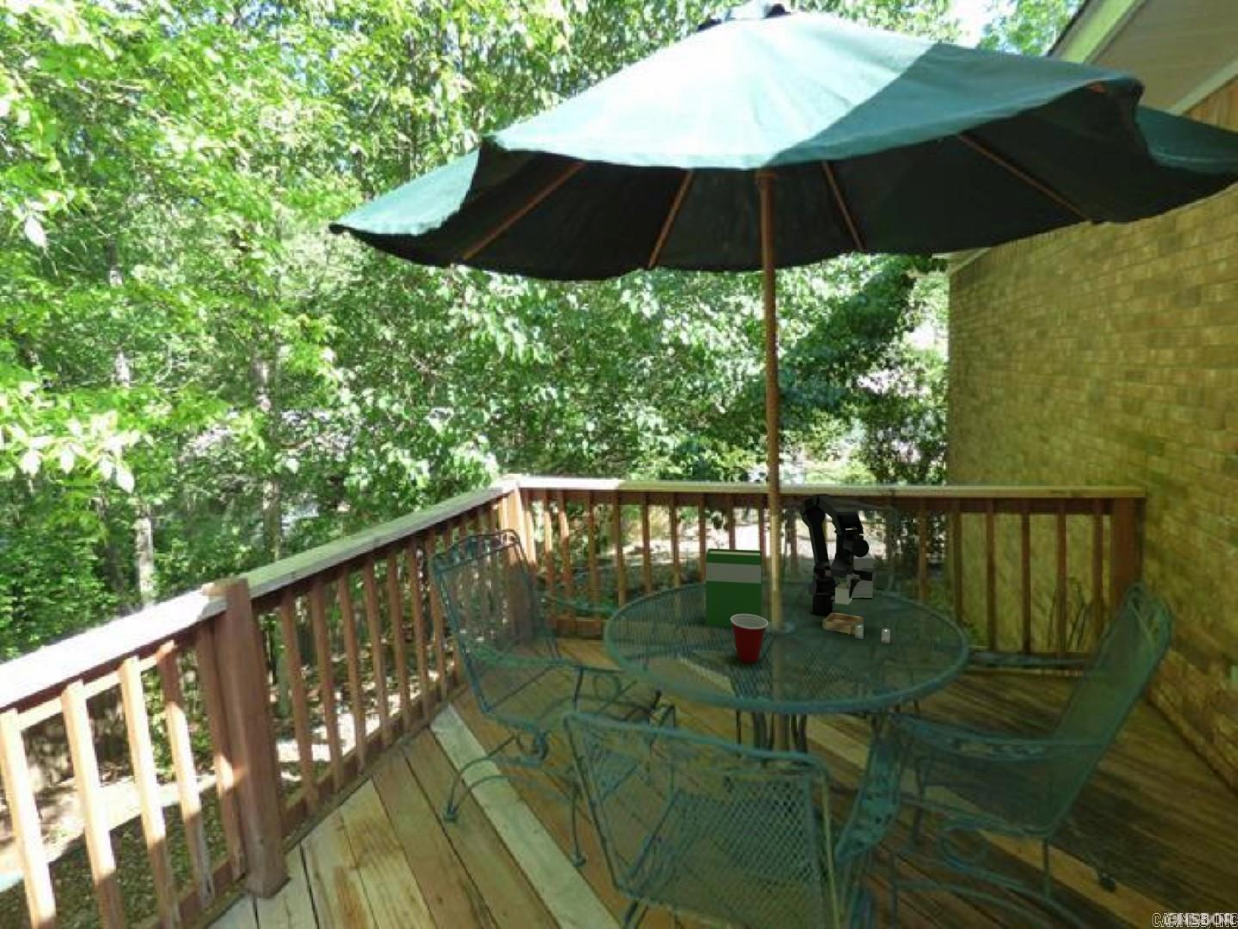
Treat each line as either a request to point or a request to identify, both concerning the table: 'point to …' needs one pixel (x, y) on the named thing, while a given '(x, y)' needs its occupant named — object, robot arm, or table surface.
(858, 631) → the peg
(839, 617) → the wooden tray
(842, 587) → the plug block
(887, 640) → the peg
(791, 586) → the table surface
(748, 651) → the plastic cup
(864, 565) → the skincare box
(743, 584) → the hardback book
